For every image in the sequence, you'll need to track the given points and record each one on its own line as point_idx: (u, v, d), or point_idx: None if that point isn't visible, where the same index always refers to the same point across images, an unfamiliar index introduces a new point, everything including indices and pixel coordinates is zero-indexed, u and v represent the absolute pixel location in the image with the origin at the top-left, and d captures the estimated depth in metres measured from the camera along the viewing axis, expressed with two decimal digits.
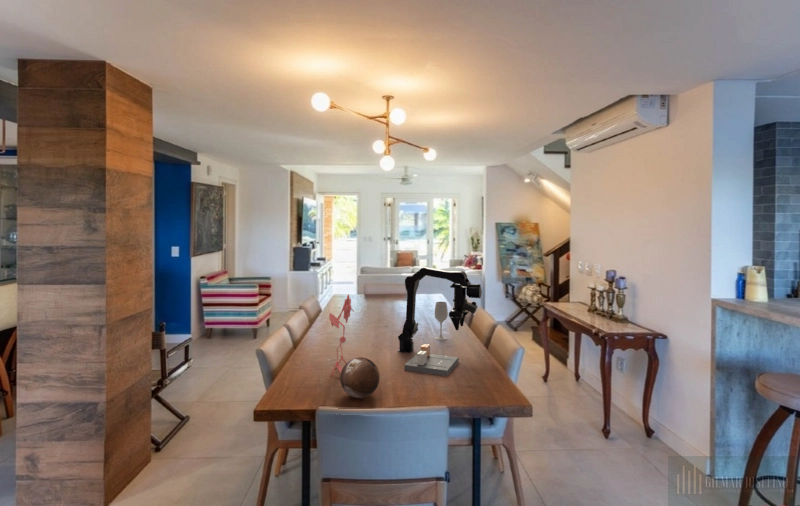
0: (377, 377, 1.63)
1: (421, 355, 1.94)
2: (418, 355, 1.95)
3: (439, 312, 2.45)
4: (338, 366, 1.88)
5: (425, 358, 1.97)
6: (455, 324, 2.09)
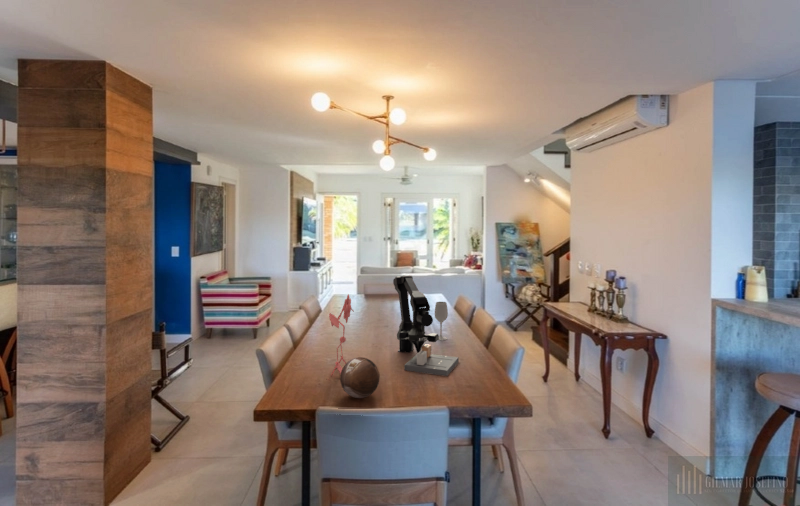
0: (377, 377, 1.63)
1: (421, 355, 1.94)
2: (418, 355, 1.95)
3: (439, 312, 2.45)
4: (338, 366, 1.88)
5: (425, 358, 1.97)
6: None
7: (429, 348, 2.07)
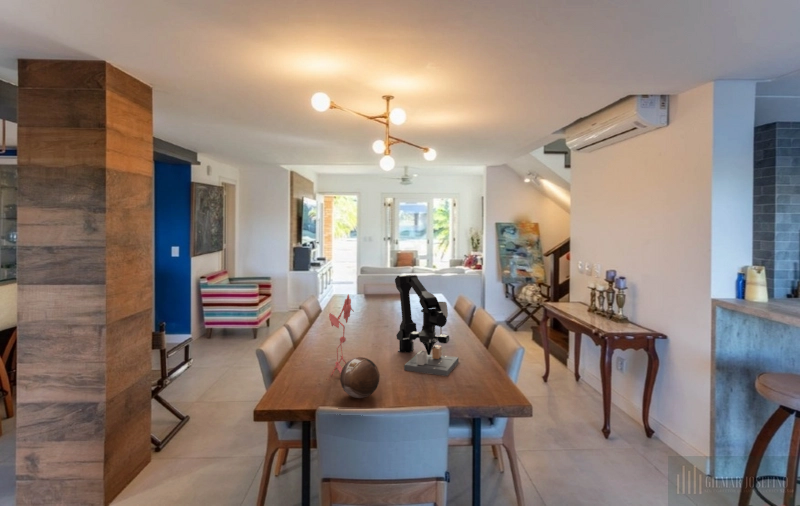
0: (377, 377, 1.63)
1: (421, 355, 1.94)
2: (418, 355, 1.95)
3: None
4: (338, 366, 1.88)
5: (425, 358, 1.97)
6: None
7: (439, 349, 2.05)
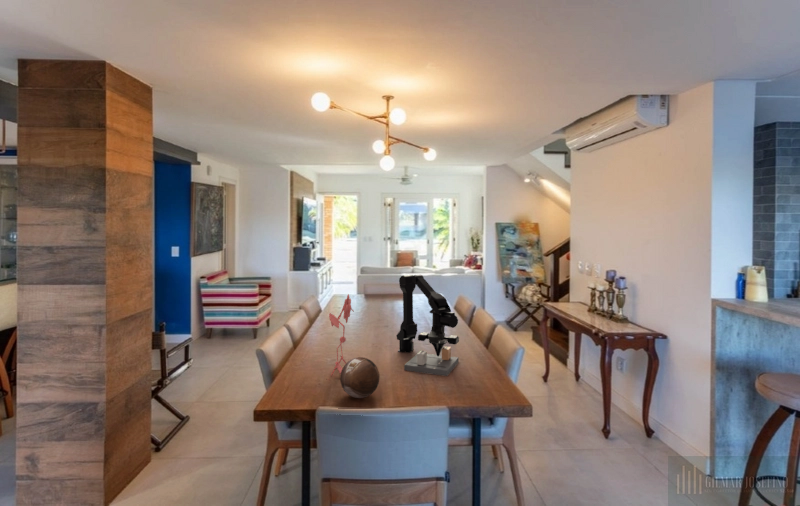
0: (377, 377, 1.63)
1: (421, 355, 1.94)
2: (418, 355, 1.95)
3: None
4: (338, 366, 1.88)
5: (425, 358, 1.97)
6: None
7: (449, 350, 2.03)
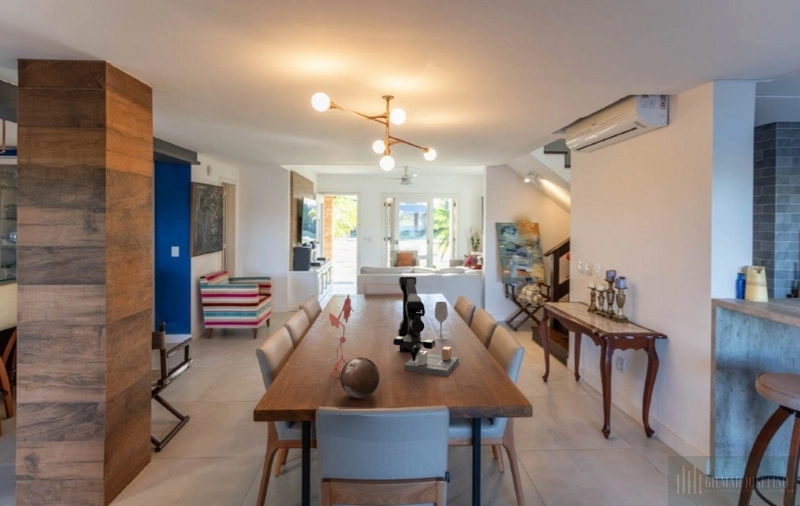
0: (377, 377, 1.63)
1: (422, 355, 1.94)
2: (419, 355, 1.95)
3: (439, 312, 2.45)
4: (338, 366, 1.88)
5: (426, 358, 1.97)
6: None
7: (449, 350, 2.03)
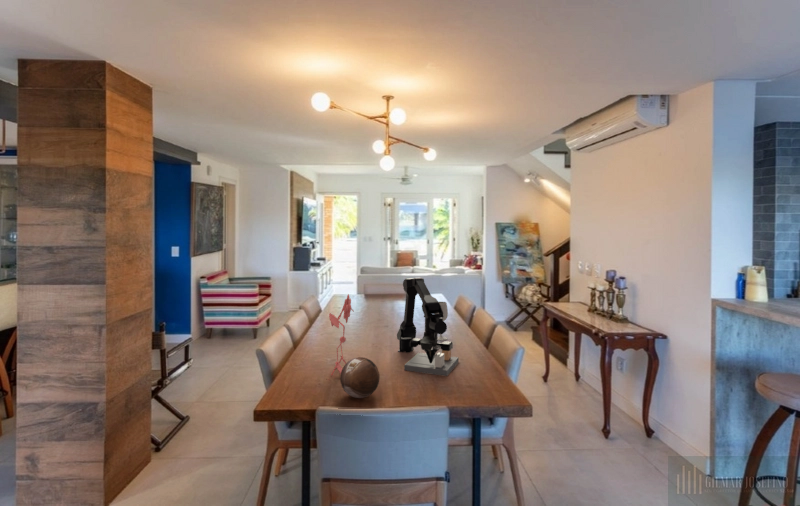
0: (377, 377, 1.63)
1: (439, 357, 1.91)
2: (436, 357, 1.92)
3: None
4: (338, 366, 1.88)
5: (443, 360, 1.94)
6: None
7: None
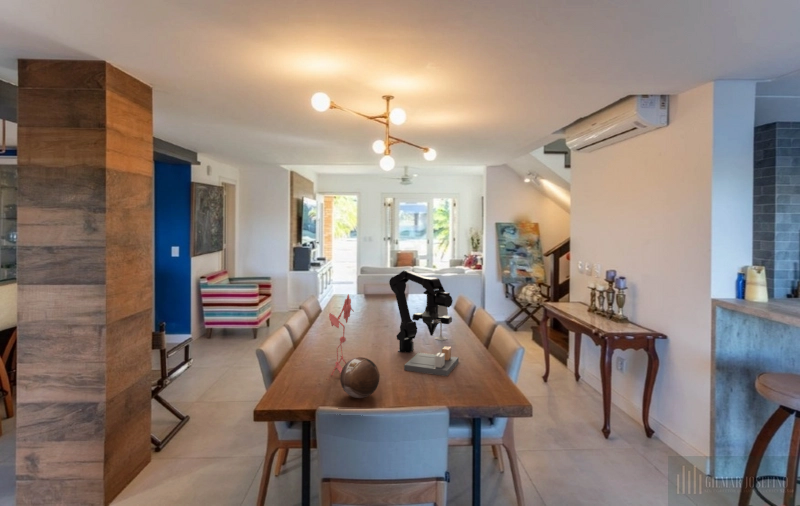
0: (377, 377, 1.63)
1: (439, 357, 1.91)
2: (436, 357, 1.92)
3: (439, 312, 2.45)
4: (338, 366, 1.88)
5: (443, 360, 1.94)
6: None
7: (449, 350, 2.03)
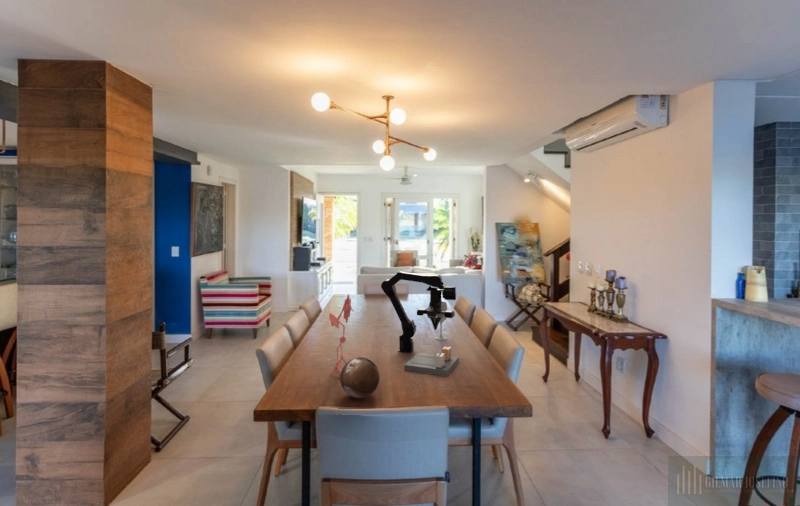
0: (377, 377, 1.63)
1: (439, 357, 1.91)
2: (436, 357, 1.92)
3: None
4: (338, 366, 1.88)
5: (443, 360, 1.94)
6: None
7: (449, 350, 2.03)
